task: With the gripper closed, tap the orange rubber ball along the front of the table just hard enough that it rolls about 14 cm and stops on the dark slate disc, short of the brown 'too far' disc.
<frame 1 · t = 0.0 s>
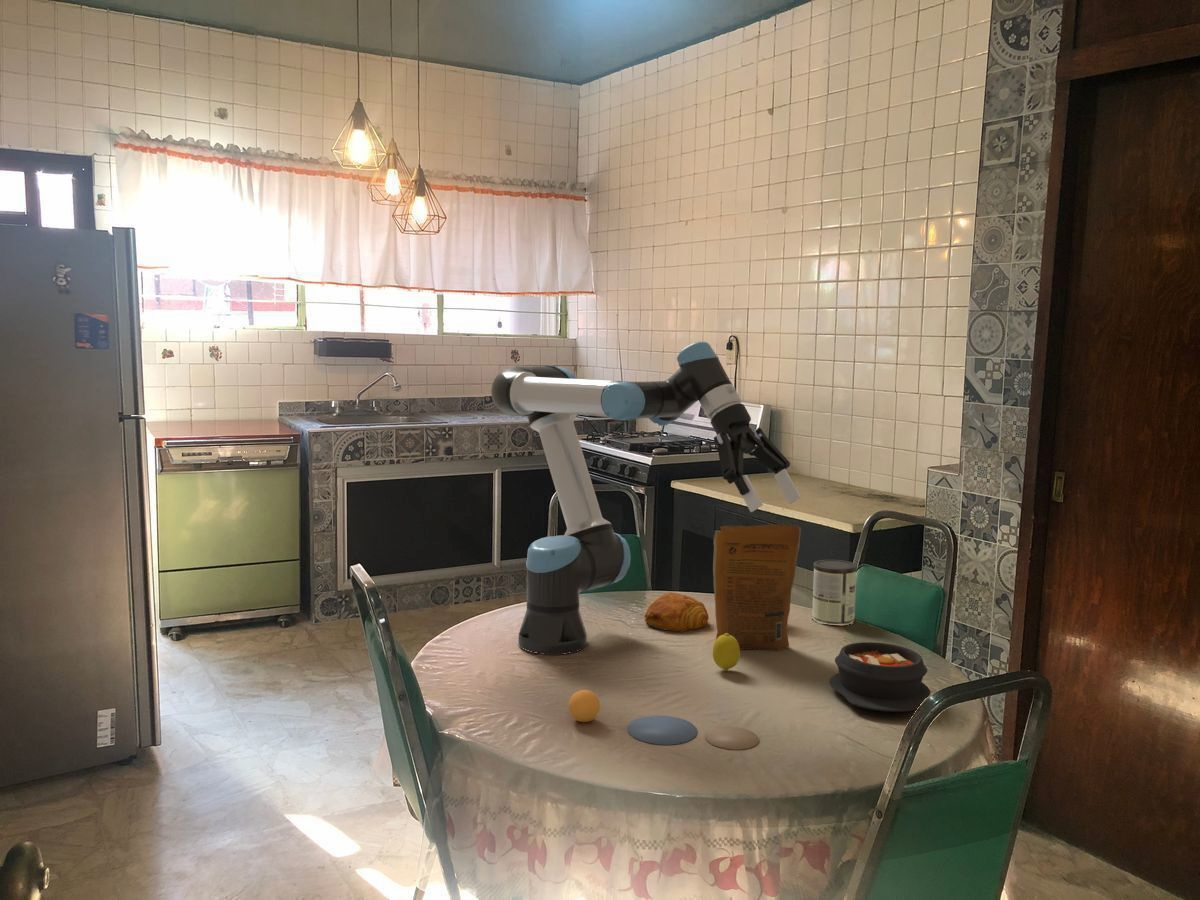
hand: (776, 504, 179), 36 cm above the table, tool tilted 35°, fingers open, 13 cm apart
ball: (584, 705, 164), on the table
croissant: (673, 624, 224), on the table
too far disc: (731, 738, 158), on the table
casserole: (878, 697, 179), on the table
pancake mix bag: (752, 648, 206), on the table
coffee can: (832, 621, 228), on the table
lemon: (725, 672, 191), on the table
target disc: (662, 730, 161), on the table
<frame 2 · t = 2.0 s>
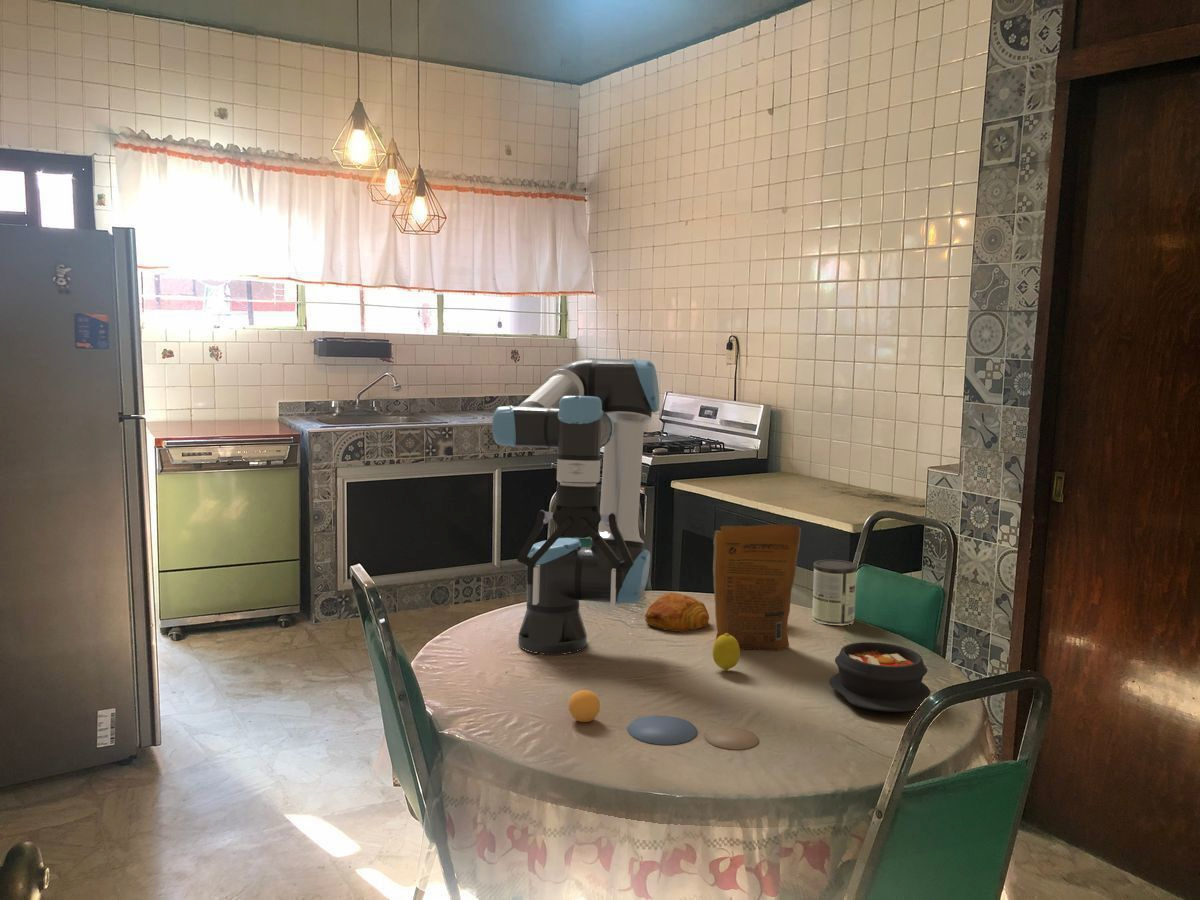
hand: (574, 605, 163), 21 cm above the table, tool pointing down, fingers open, 13 cm apart
nothing on the table moved.
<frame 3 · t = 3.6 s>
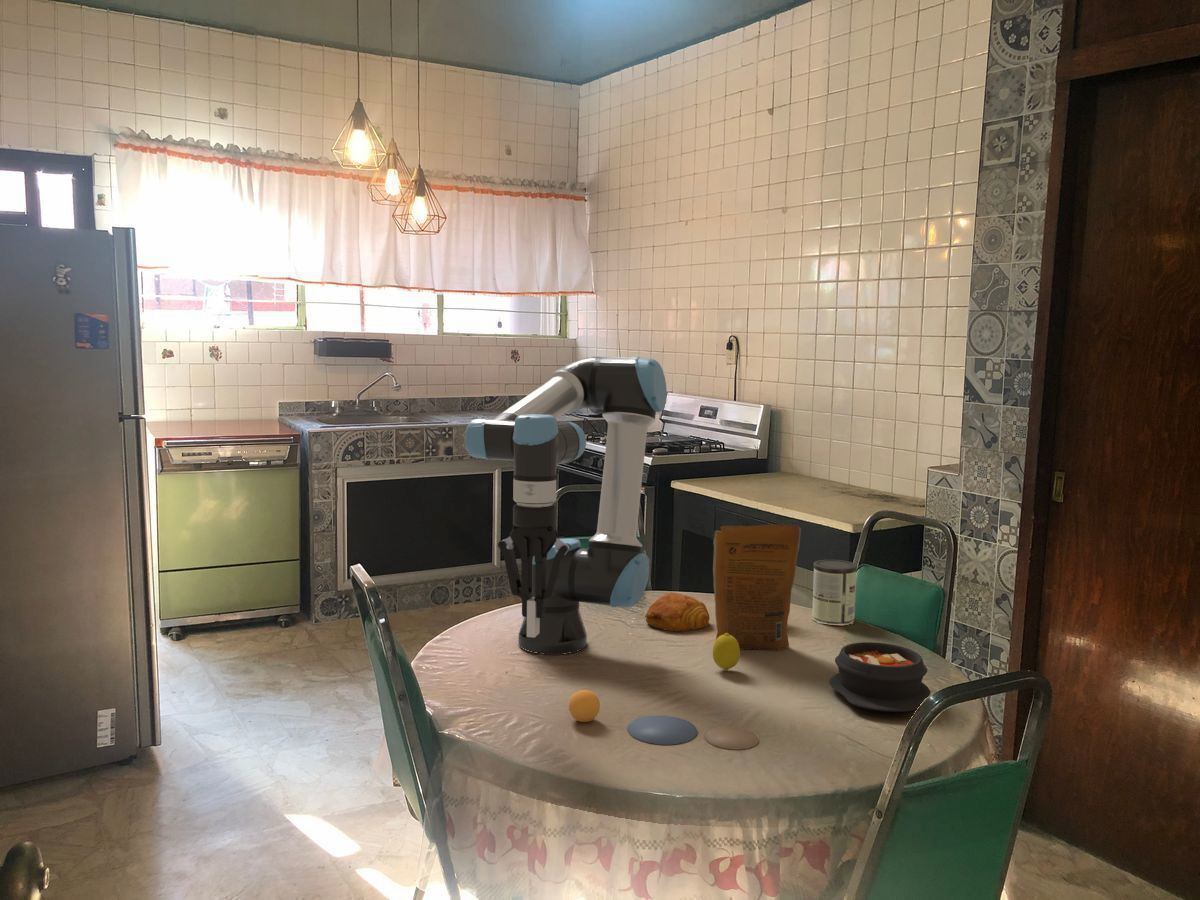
hand: (533, 634, 165), 15 cm above the table, tool pointing down, fingers closed
nothing on the table moved.
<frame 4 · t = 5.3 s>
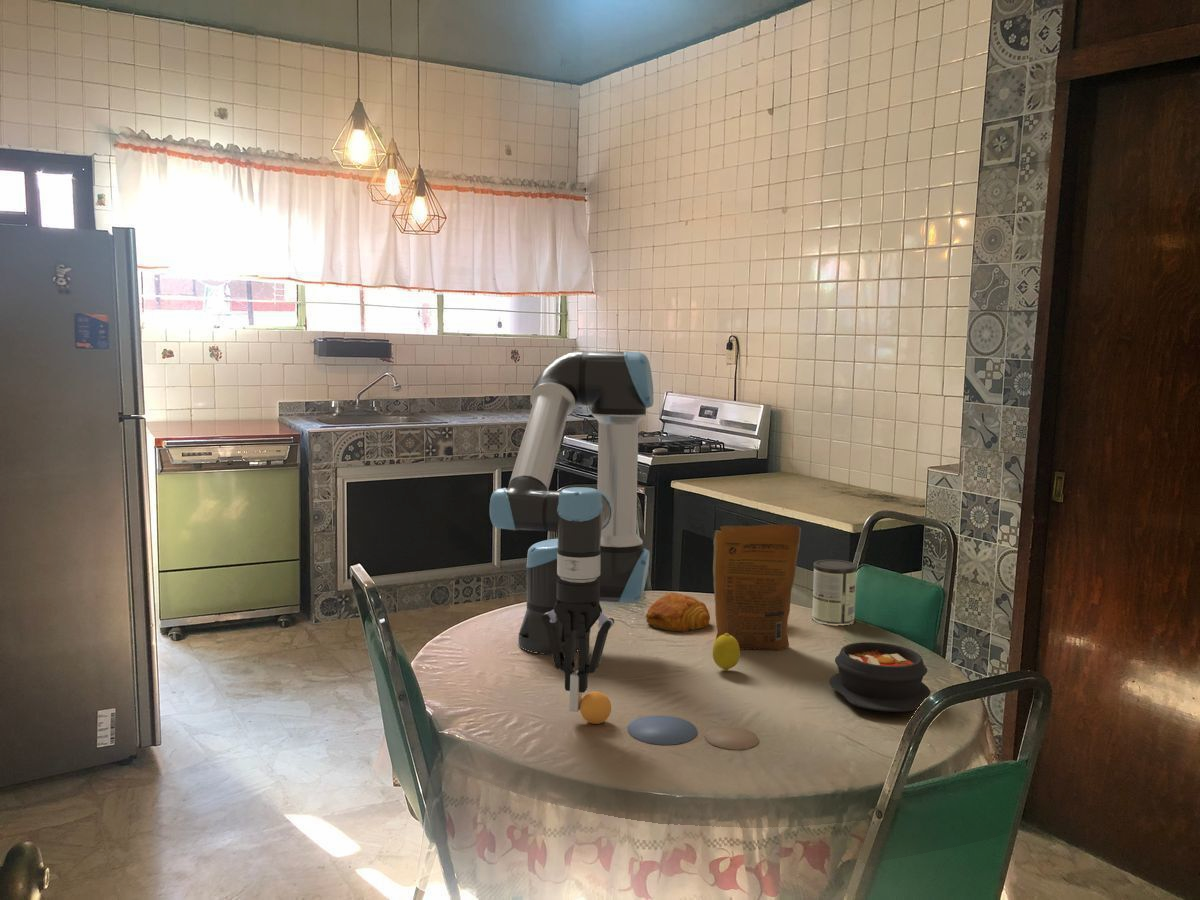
hand: (575, 708, 164), 2 cm above the table, tool pointing down, fingers closed
ball: (595, 707, 163), on the table
everything else where it was.
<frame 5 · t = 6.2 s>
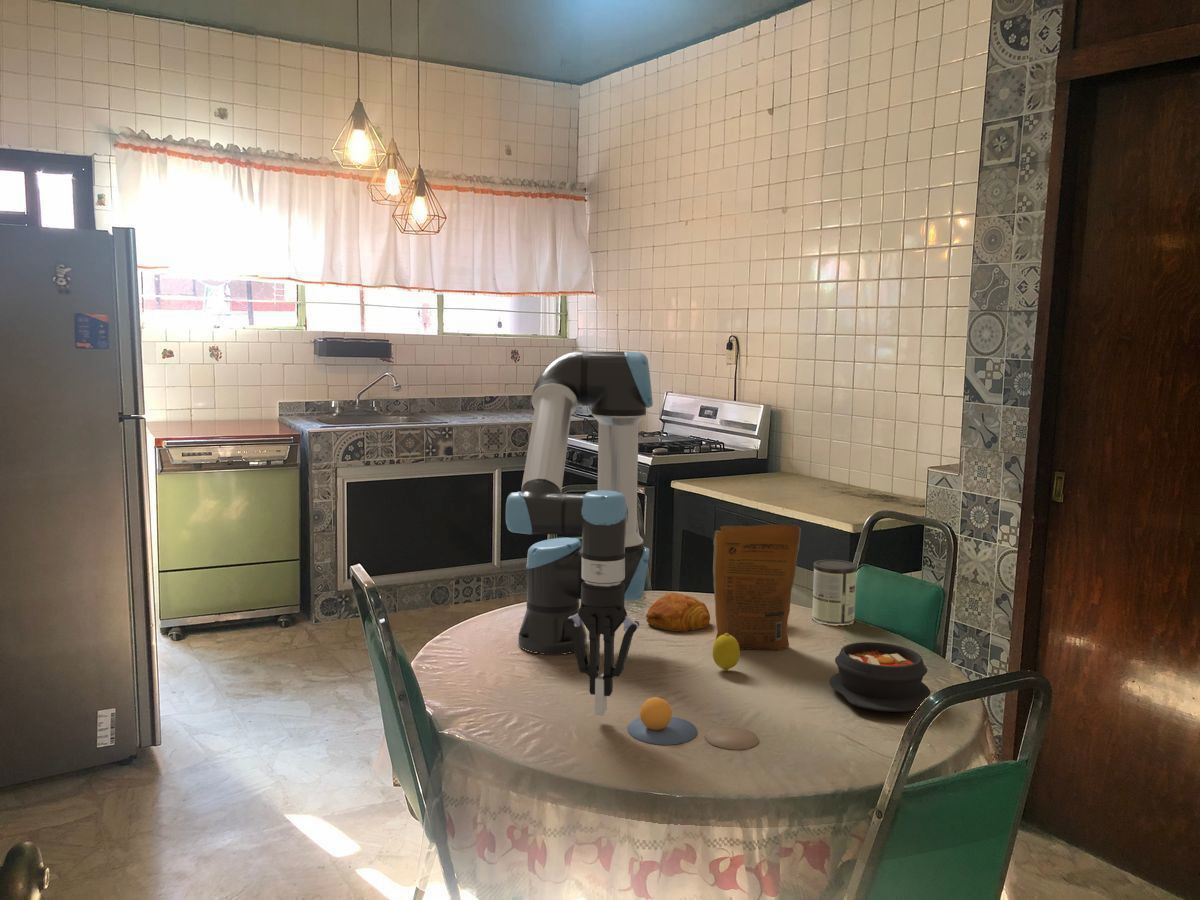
hand: (600, 712, 163), 2 cm above the table, tool pointing down, fingers closed
ball: (655, 713, 161), on the table
everything else where it was.
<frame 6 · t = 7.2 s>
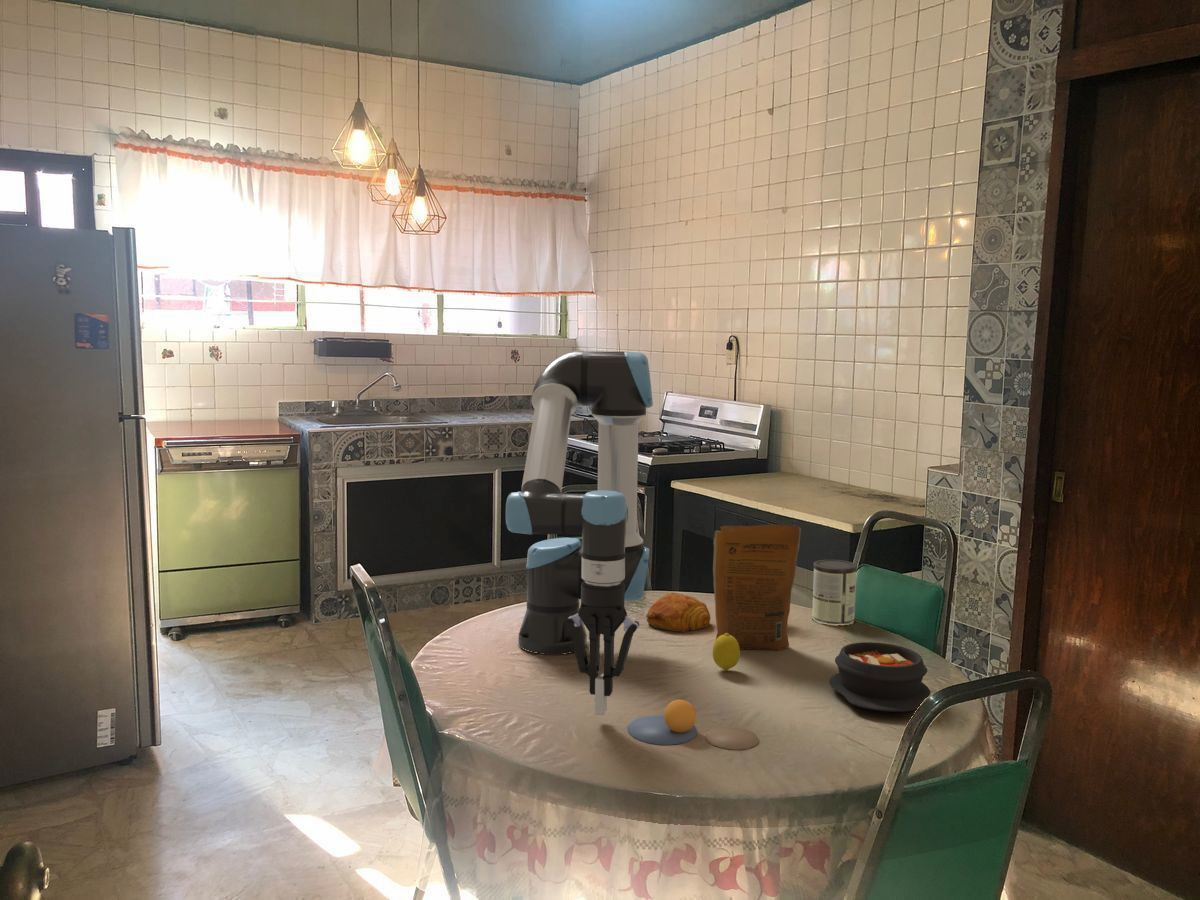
hand: (600, 712, 163), 2 cm above the table, tool pointing down, fingers closed
ball: (680, 716, 160), on the table
everything else where it was.
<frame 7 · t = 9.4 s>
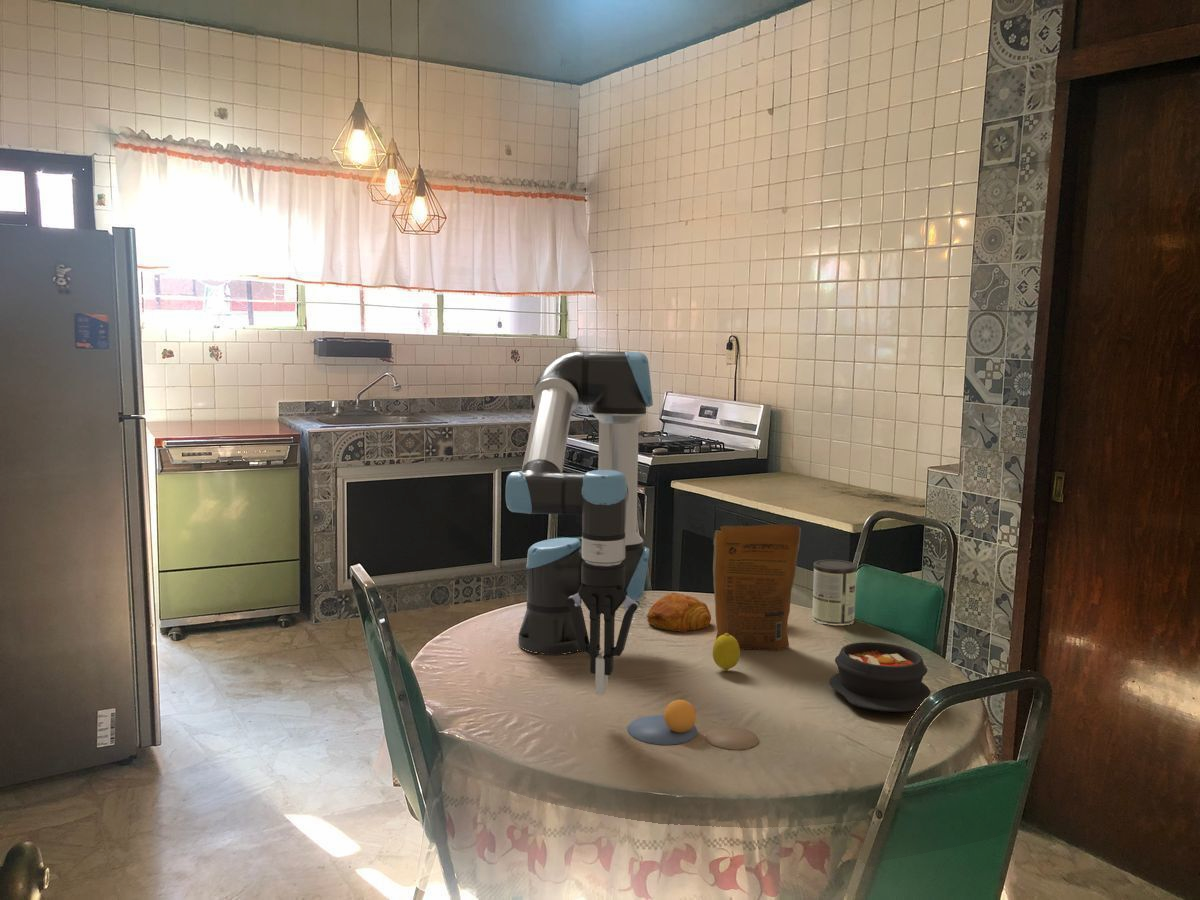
hand: (601, 691, 163), 5 cm above the table, tool pointing down, fingers closed
nothing on the table moved.
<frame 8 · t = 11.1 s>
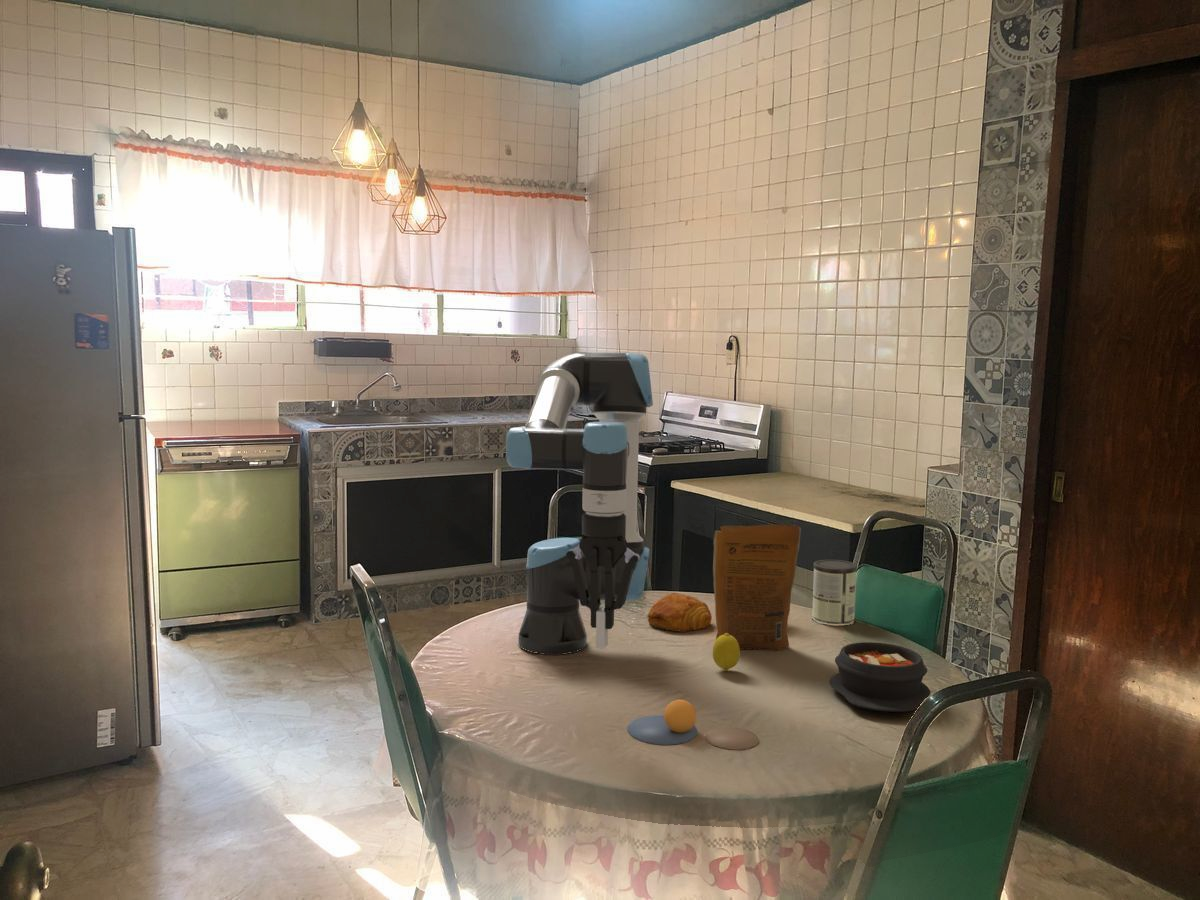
hand: (601, 646, 162), 14 cm above the table, tool pointing down, fingers closed
nothing on the table moved.
at the end: ball 3.0 cm from the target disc (horizontally); ball at rest at the end (0.0 cm/s); ball moved 17.0 cm from its start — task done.
